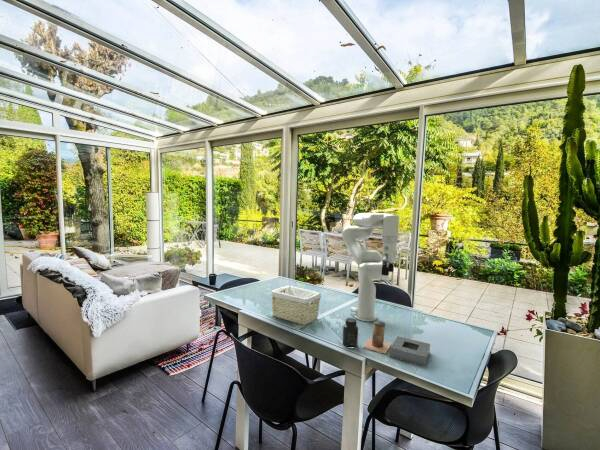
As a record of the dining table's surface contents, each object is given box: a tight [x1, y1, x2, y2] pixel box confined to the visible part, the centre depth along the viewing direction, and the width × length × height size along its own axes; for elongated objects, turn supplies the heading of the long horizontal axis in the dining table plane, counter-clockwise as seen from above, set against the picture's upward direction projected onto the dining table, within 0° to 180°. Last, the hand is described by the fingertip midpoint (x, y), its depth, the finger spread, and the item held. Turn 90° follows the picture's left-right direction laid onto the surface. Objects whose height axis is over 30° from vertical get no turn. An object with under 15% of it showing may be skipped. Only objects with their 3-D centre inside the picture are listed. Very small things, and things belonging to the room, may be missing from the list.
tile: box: [362, 338, 392, 355], centre depth 140 cm, size 10×10×1 cm
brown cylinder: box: [371, 320, 386, 347], centre depth 140 cm, size 5×5×10 cm
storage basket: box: [270, 284, 322, 326], centre depth 172 cm, size 24×16×15 cm
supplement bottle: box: [341, 317, 359, 348], centre depth 140 cm, size 7×7×12 cm
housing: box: [389, 335, 431, 367], centre depth 134 cm, size 14×14×4 cm
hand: (387, 273), depth 155 cm, fingers open, 9 cm apart
